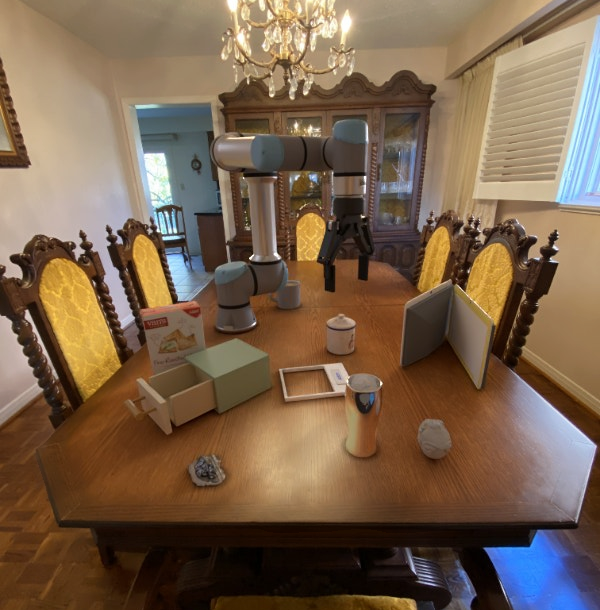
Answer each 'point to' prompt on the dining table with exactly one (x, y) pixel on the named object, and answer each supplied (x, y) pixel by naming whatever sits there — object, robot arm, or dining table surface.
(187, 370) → the drawer
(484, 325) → the grey folded panels
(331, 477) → the dining table surface
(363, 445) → the beer glass
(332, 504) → the dining table surface
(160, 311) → the cracker box
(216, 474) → the blueberries
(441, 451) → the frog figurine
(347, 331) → the teacup with lid
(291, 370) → the photo frame
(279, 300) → the coffee mug
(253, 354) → the cabinet
